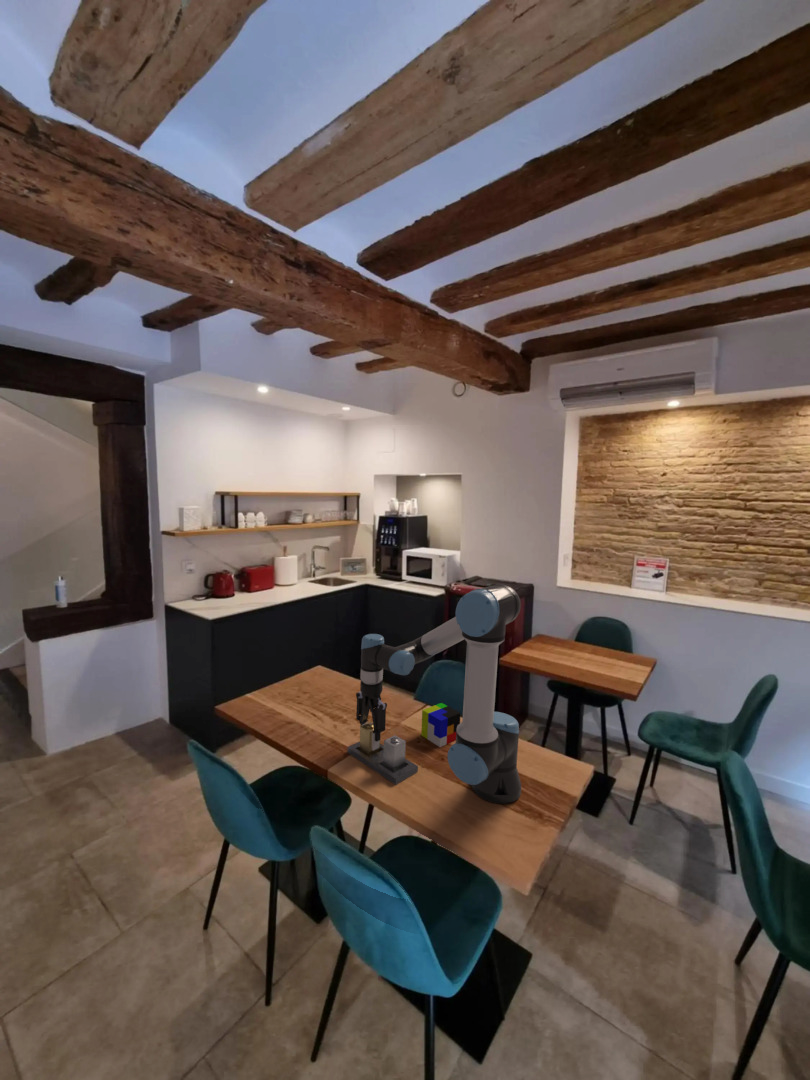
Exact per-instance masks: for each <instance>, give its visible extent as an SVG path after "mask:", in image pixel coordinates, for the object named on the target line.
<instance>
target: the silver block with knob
mask: <svg viewBox="0 0 810 1080" xmlns="http://www.w3.org/2000/svg"><path fill="white" fill-rule="evenodd" d="M406 743H407V742H406V740H404V738H403V739H402V738H401V737H399V736H398V735H395V734H394V735H392V736H390V737H388V738H386V739H384V740H383V745H384V753H383V767H385V768H386V769H388V770H389V771H391V772H392V773H395V772H397V771H399V770H400V769H402V768H404V767H405V758H406V745H407V744H406Z"/></svg>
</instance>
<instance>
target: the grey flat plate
mask: <svg viewBox="0 0 810 1080" xmlns="http://www.w3.org/2000/svg"><path fill="white" fill-rule="evenodd" d="M346 753H347V754H349V755H350V756H352V757H354V759H356V760H357V761H359V762H361V763H362V764H364V765H365V766H366V767H368V768H369V769H371V770H373V771H374V772H376V773H377V774H378V775H380V776H381V777H383V779H386V780H387V781H389V782H390V783H392V784H393V785H395V786H397V785H398V784H400V783H402V782H403V781H405V780H406V779H408V778H410V777H411V776H413V775H415V774H417V773H418V771H419V769H418V768H419V766H418V765H417V764H415V763H414V762H412V761H410V760H409V759H407V758H406V757H405V767H404V768H402V769H400V770H399V771H397V772H395V773H392V772H391V771H389V770H388V769H386V768H385V767H383V753H384V744H383V743H381V742H380V752H378V753H376V754H374V755H372V756H370V757H368V756H366V755H365V754H363V753H362V752H360V740H359V741H357V742H355V743H353V744H351V745H349V746H347V752H346Z"/></svg>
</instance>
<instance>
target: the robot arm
mask: <svg viewBox="0 0 810 1080" xmlns="http://www.w3.org/2000/svg"><path fill="white" fill-rule="evenodd" d="M521 605H522V603H521V598H520V596H519V594H518V593H517V592H516V590H515V589H514V588H513V587H511V586H508V585H506V584H503V583H502V584H500V583H499V584H493V585H490V586H486V587H482V588H476V589H473V590H471V591H469V592H468V593H465V594H464V595H462V597H461V598H460V599H459V601H458V602H457V605H456V608H455V616H454V617H453V618H451V619H449V620H447V621H445V622H444V623H442V624H441V625H439V626H436V628H434V629H432V630H430V631H428V632H426V633H425V634H423V635H421V636H420V637H417V638H416V639H413V640H412V641H409V642H407V643H404V644H401V645H398V646H395V647H394V646H391V645H387V644H385V638H384V636H383V635H381V634H378V633H368V634H365V635H363V636H362V638H361V645H360V647H361V648H360V653H361V654H360V691H358V692H355V697H356V714H355V715H356V717H355V719H356V721H357V722H359V724H360V726H362V725H364V724H367V723H369V722H370V720H368V719H369V713H371V718H372V719H371V720H372V722H373V727H374V731H372V750H373V751H374V750H376V749H378V748H379V740H380V741H381V736H380V734H381V733H382V732H385V731H386V718H387V716H386V715H387V713H386V712H387V711H386V710H387V707H388V704H387V702H383V701H382V697H381V696H382V695H381V694H382V692H383V689H384V687H383V685H384V682H383V679H384V678H383V677H384V676H383V675H384V670H386V671H388V672H391V673H393V674H396V675H400V676H408V675H409V674H410V673H411V672H412V671H413V669H414V668H415V667H414V666H415V665H416V664H420V663H421V662H424V661H427V660H429V659H431V658H432V657H433V656H435V655H436V654H439V653H441V652H443V651H444V650H447V649H448V648H450V647H453V646H454V645H456V644H458V643H460V642H462V641H464V640H465V641H466V652H465V653H466V655H465V656H466V657H465V668H464V669H465V670H464V671H465V672H464V673H465V674H464V675H465V676H464V690H463V705H462V708H463V709H462V721H460V724H459V725H458V726H457V729H456V740H455V741H454V742H455V743H453V744H451V746H450V747H449V749H448V752H447V762H448V765H449V768H450V770H451V771H452V772H453V773H454V775H455V776H456V778H458V779H459V780H460V781H461V782H463V783H465V784H467V785H470V786H471V789H472V790H473V792H474V793H475V794H476V795H477V796H478V797H479V798H481V799H482V800H484V801H487V802H490V803H492V804H500V805H501V804H502V805H504V804H505V805H506V804H511V803H514V802H516V801H517V800H519V798H520V797H521V794H522V782H521V778H520V775H519V771H518V767H517V765H518V751H519V736H520V735H519V734H520V730H519V729H520V728H519V726H520V724H519V722H518V720H517V719H516V718H515V717H514V716H512V715H510V714H507V713H504V712H500V711H495V705H496V704H495V703H496V688H497V675H498V673H497V672H498V658H499V657H498V656H499V646H500V645H501V644H502V643H503V642H505V638H506V628H507V627H506V625H509V624H510V623H512V622H513V621H515V620H516V618H517V617H519V616H518V615H520V612H521V609H522V608H521V607H522V606H521Z"/></svg>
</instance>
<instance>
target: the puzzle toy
mask: <svg viewBox="0 0 810 1080" xmlns="http://www.w3.org/2000/svg"><path fill="white" fill-rule="evenodd" d="M421 711H422V712H421V716H422V717H421V733H420V736H422V737H423V738H425V739H427V740H428V741H429V742H431V743H432V744H434V745H436V746H437V747H439V748H441V747H443V746H445V745H448V744H451V743H453V742H456V729H457V726H458V725H459V724H460V723H461V712H459V711H458V710H456V709H454V708H452V707H450V706H448V705H446V704H445V703H443V702H441V703H437V704H435V705H432V706H430V707H426V708H424V709H422V710H421Z"/></svg>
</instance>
